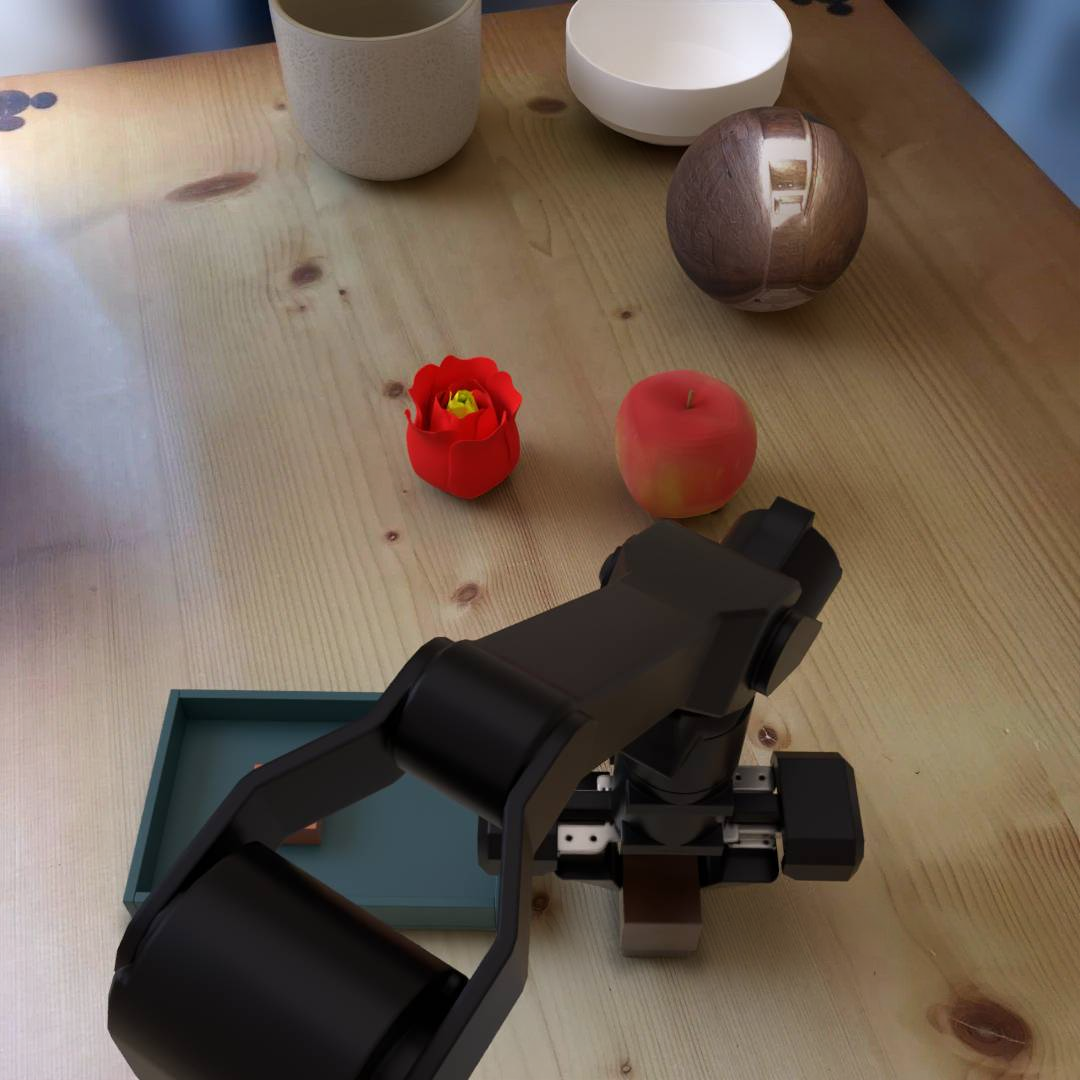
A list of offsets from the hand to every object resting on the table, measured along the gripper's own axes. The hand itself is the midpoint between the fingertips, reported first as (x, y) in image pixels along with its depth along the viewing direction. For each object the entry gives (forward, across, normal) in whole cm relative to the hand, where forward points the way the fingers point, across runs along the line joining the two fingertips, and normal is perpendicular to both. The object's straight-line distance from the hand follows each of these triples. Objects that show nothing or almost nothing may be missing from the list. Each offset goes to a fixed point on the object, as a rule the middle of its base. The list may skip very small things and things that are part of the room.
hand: (654, 882), depth 71 cm
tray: (+1, +18, -4) cm, 19 cm away
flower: (+1, +12, -31) cm, 33 cm away
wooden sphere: (+1, -10, -51) cm, 52 cm away
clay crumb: (0, +21, -4) cm, 21 cm away
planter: (+1, +21, -70) cm, 73 cm away
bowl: (+1, -4, -76) cm, 76 cm away
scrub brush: (+1, 0, 0) cm, 1 cm away
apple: (+1, -3, -29) cm, 29 cm away
